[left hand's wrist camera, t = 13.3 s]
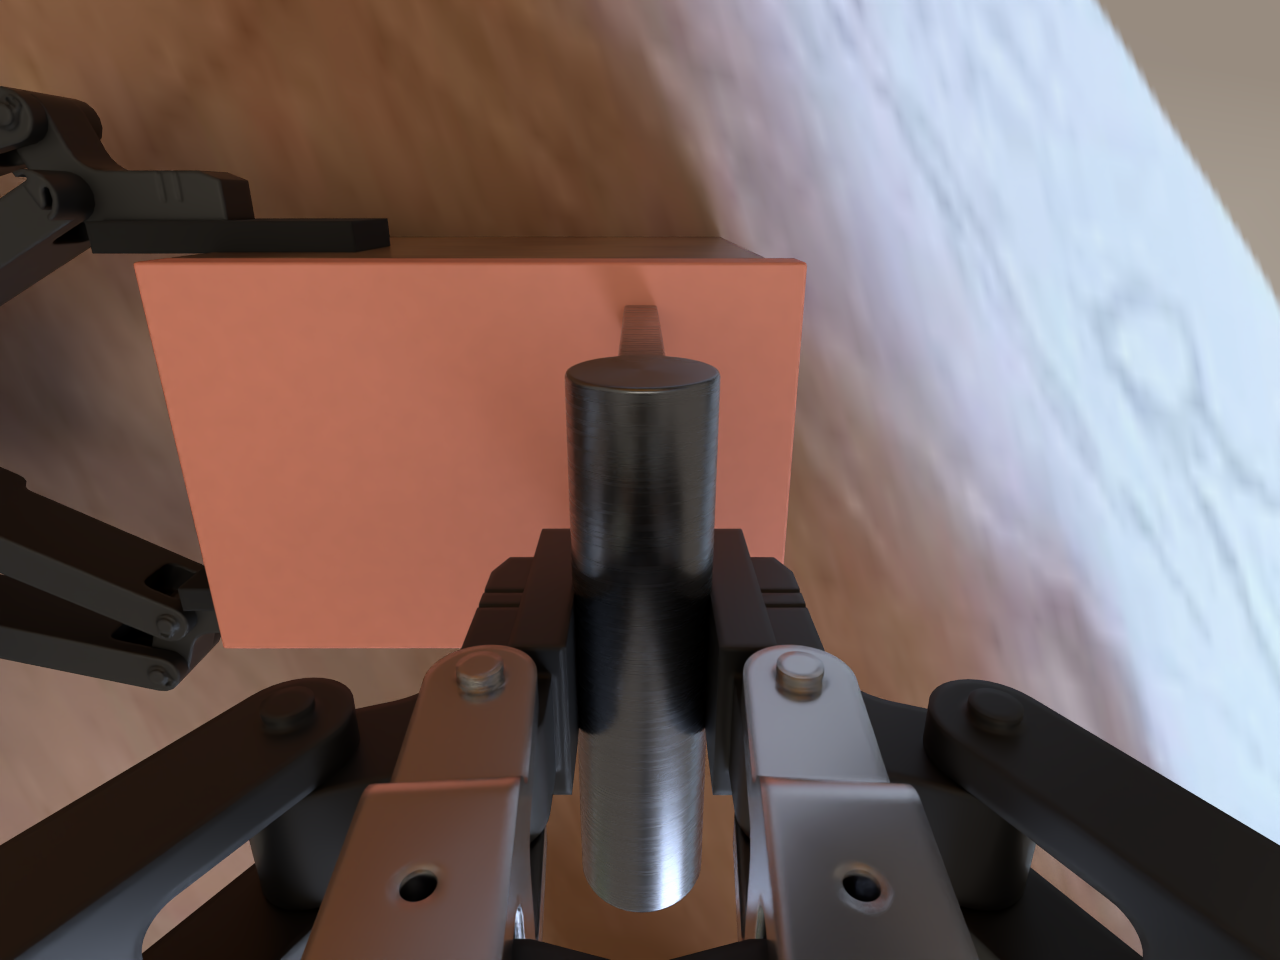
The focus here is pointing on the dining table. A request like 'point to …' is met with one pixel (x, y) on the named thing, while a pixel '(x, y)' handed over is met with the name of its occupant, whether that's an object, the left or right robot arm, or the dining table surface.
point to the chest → (526, 248)
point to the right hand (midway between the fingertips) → (395, 420)
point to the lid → (495, 477)
